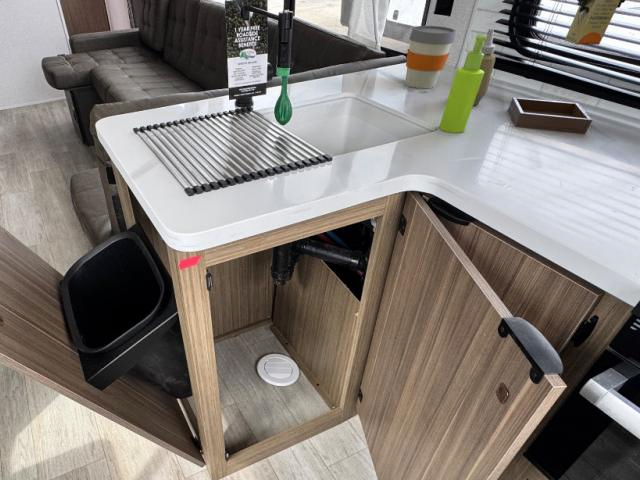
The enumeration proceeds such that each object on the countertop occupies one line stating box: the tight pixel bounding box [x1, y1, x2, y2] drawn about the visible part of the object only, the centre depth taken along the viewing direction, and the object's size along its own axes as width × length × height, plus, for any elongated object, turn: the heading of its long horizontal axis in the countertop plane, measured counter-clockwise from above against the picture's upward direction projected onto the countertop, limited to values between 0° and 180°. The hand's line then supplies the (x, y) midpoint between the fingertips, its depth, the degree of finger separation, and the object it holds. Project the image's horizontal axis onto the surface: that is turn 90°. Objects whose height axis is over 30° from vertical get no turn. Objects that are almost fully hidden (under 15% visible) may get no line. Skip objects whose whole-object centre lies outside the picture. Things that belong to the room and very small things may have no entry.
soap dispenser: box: [439, 33, 486, 134], centre depth 101 cm, size 6×7×20 cm
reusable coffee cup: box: [404, 25, 457, 89], centre depth 132 cm, size 13×13×15 cm
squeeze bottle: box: [473, 28, 496, 106], centre depth 117 cm, size 8×8×18 cm
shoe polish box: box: [564, 0, 620, 46], centre depth 93 cm, size 5×5×12 cm
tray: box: [507, 96, 593, 135], centre depth 111 cm, size 16×14×3 cm
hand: (598, 5), depth 93 cm, fingers closed on shoe polish box, 5 cm apart
